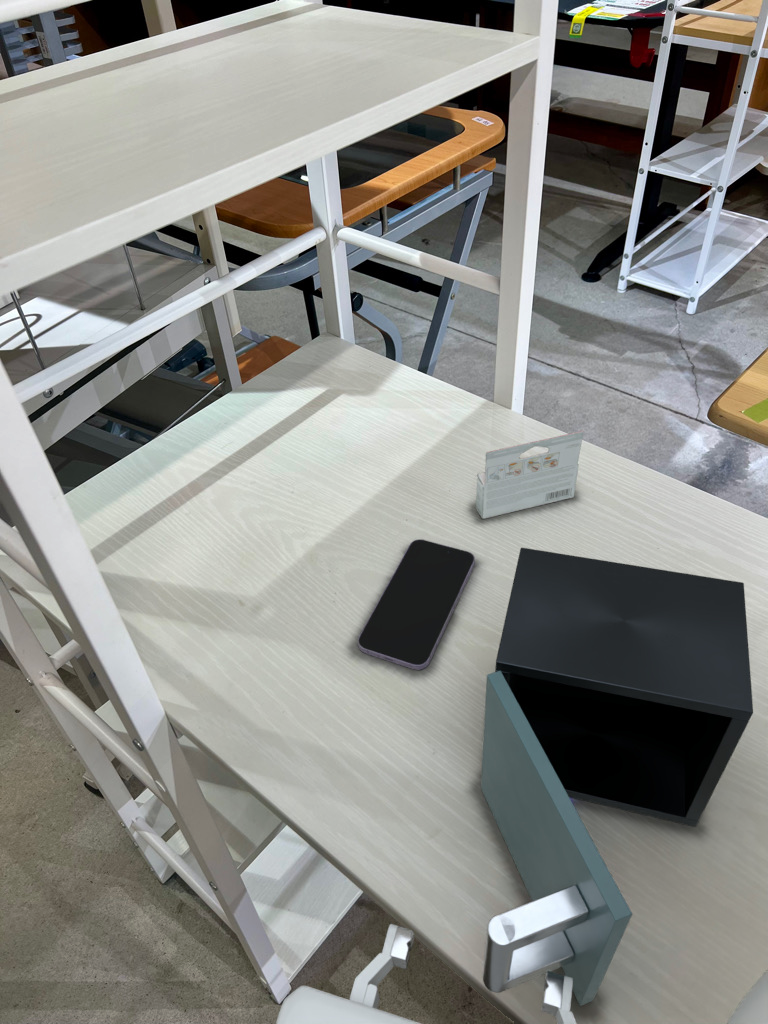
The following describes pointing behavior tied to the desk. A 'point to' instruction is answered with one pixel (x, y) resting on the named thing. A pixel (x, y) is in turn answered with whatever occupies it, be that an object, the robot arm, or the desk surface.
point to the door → (544, 863)
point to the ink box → (528, 476)
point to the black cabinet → (629, 678)
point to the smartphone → (417, 604)
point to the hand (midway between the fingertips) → (478, 952)
